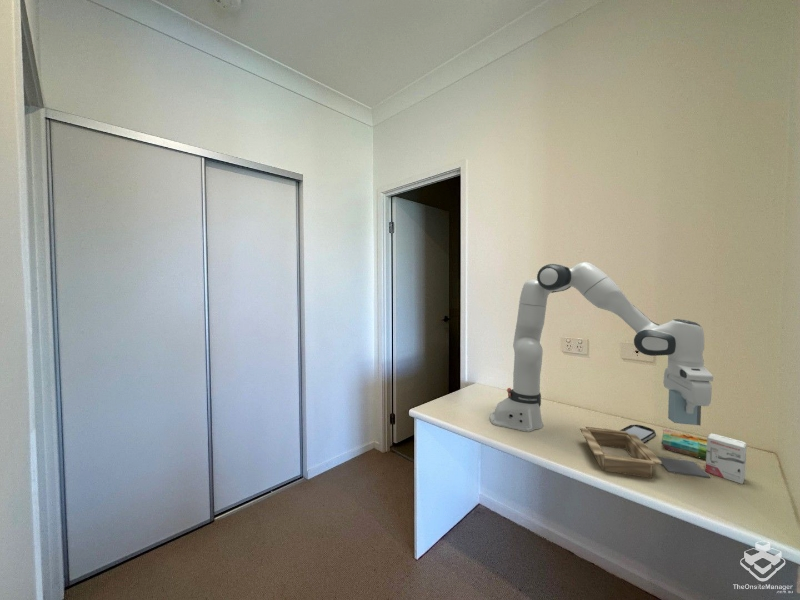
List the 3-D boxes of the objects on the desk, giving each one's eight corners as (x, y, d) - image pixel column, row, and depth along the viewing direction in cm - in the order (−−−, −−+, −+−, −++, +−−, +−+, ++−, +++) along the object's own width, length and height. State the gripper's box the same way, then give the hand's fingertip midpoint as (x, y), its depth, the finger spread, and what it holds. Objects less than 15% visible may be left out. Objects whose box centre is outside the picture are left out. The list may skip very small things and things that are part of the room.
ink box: (704, 471, 104) (706, 436, 104) (707, 466, 107) (708, 432, 106) (743, 484, 97) (745, 447, 97) (745, 479, 100) (746, 442, 100)
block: (674, 423, 105) (675, 393, 104) (668, 418, 109) (668, 389, 108) (700, 425, 103) (701, 395, 102) (693, 420, 106) (694, 391, 106)
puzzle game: (663, 427, 127) (735, 443, 114) (663, 438, 127) (735, 456, 114) (662, 437, 118) (740, 456, 105) (661, 450, 118) (739, 470, 105)
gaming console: (633, 427, 138) (634, 421, 138) (659, 435, 130) (659, 429, 130) (612, 438, 127) (612, 432, 127) (638, 448, 120) (638, 441, 120)
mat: (668, 472, 104) (668, 470, 104) (655, 458, 112) (655, 456, 112) (710, 478, 100) (710, 476, 100) (693, 463, 109) (693, 461, 109)
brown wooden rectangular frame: (664, 483, 98) (665, 465, 98) (595, 472, 103) (596, 456, 103) (633, 446, 120) (633, 432, 120) (578, 439, 126) (578, 425, 126)
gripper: (658, 361, 116) (657, 398, 116) (691, 376, 96) (690, 420, 97) (679, 362, 114) (678, 400, 114) (717, 377, 94) (715, 423, 95)
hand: (684, 409), depth 105 cm, fingers closed on block, 4 cm apart
